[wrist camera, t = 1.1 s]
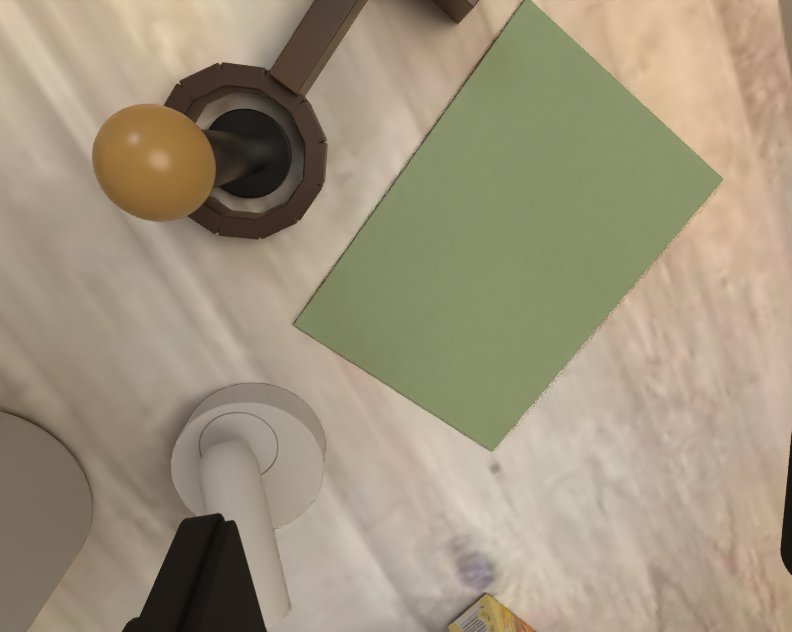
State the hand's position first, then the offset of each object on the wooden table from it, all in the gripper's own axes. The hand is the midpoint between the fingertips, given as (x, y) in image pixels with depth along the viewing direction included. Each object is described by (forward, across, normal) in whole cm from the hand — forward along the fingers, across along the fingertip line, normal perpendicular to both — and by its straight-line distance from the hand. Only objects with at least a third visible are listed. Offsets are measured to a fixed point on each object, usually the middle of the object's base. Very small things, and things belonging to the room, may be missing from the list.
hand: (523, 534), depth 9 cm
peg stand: (+23, +7, -7) cm, 25 cm away
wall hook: (+23, +10, +11) cm, 28 cm away
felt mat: (+23, -6, +1) cm, 24 cm away
